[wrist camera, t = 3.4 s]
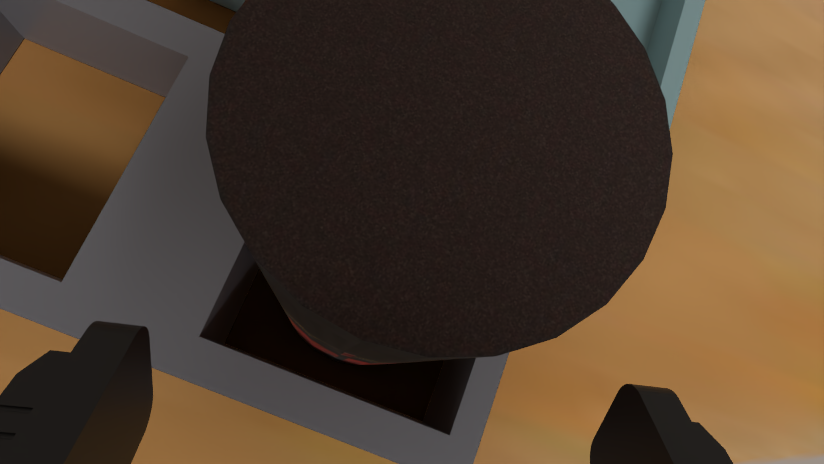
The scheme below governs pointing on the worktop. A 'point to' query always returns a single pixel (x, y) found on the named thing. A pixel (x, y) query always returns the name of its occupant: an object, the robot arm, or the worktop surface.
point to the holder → (200, 247)
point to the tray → (647, 37)
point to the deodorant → (438, 167)
